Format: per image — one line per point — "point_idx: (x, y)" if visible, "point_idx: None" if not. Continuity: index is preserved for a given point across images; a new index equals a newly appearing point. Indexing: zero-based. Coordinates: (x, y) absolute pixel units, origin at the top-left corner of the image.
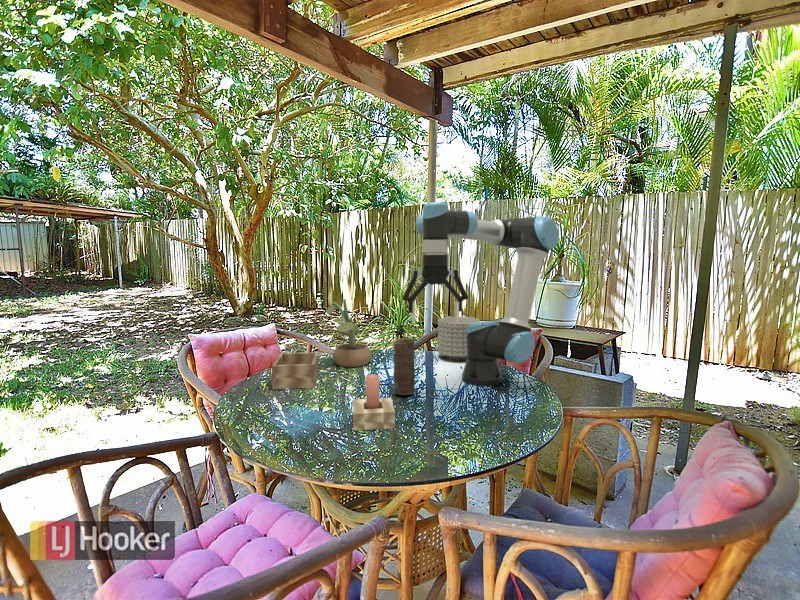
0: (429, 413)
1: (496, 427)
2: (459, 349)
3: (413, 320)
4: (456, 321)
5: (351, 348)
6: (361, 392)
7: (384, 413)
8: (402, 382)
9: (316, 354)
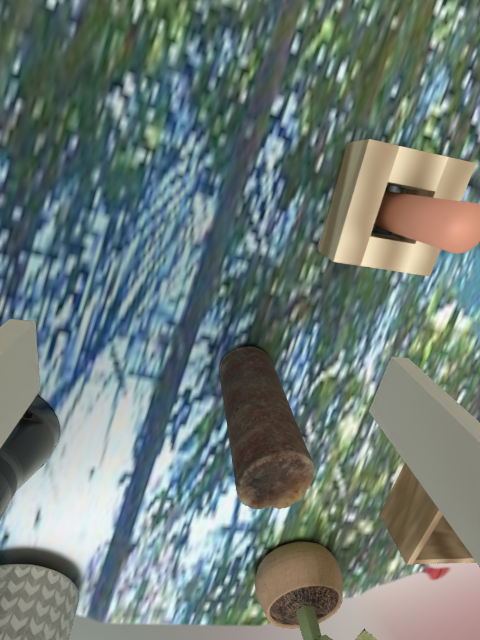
0: (224, 221)
1: (54, 39)
2: (17, 587)
3: (419, 373)
4: (29, 326)
5: (311, 595)
6: (336, 397)
7: (395, 145)
8: (264, 365)
9: (416, 550)
